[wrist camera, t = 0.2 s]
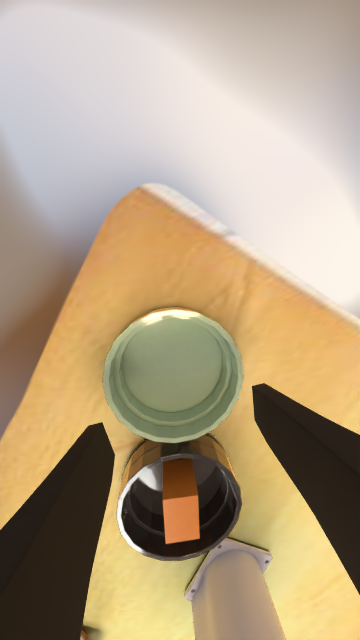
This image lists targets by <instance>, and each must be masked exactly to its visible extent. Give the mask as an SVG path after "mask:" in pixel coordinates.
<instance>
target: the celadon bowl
mask: <svg viewBox="0 0 360 640" xmlns="http://www.w3.org/2000/svg"><path fill="white" fill-rule="evenodd" d="M242 382H243V367H242V358H241V355H240V353H239V351H238V348H237V346H236V344H235V342H234V340H233V338H232V337H231V336H230V335H229V334H228V333H227V332H226V331H225V330H224V328H223V327H222V326H221V325H220V324H219V323H217V322H216V321H214V320H212V319H210V318H208V317H206V316H204V315H202V314H200V313H198V312H196V311H194V310H191V309H185V308H178V307H169V308H163V309H157V310H153V311H151V312H149V313H147V314H145V315H143V316H141V317H139V318H137V319H136V320H135V321H134V322H133V323H131V324H130V325H129V326H128V327H127V328H126V329H125V330H124V331H123V332H122V333H121V334H120V335H119V336H118V337H117V338H116V339H115V341H114V343H113V345H112V347H111V349H110V351H109V353H108V355H107V357H106V359H105V365H104V373H103V386H104V391H105V395H106V400H107V403H108V405H109V406H110V408H111V410H112V411H113V413H114V414H115V416H116V418H117V419H118V420H119V422H121V423H122V424H123V425H124V426H126V427H127V428H128V429H129V430H131V431H132V432H133V433H134V434H136V435H139V436H141V437H144V438H147V439H149V440H152V441H155V442H167V443H178V442H183V441H188V440H193V439H197V438H199V437H200V436H202V435H204V434H206V433H208V432H210V431H212V430H214V429H215V428H216V427H217V426H218V425H219V424H220V423H221V422H222V421H223V420H224V419H225V418H227V417H228V416H229V414H230V413H231V411H232V409H233V407H234V406H235V404H236V402H237V400H238V399H239V396H240V392H241V387H242Z"/></svg>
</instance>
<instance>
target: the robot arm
mask: <svg viewBox="0 0 360 640" xmlns="http://www.w3.org/2000/svg"><path fill="white" fill-rule="evenodd" d="M252 391H253V404H254V417H255V421H256V423H257V425H258V427H259V429H260V431H261V433H262V435H263V436H264V438H265V440H266V442H267V443H268V445H269V447H270V448H271V450H272V451H273V453H274V454H275V456H276V457H277V459H278V460H279V462H280V463H281V465H282V466H283V468H284V469H285V471H286V472H287V474H288V475H289V477H290V478H291V480H292V481H293V483H294V484H295V486H296V487H297V489H298V490H299V492H300V493H301V495H302V496H303V498H304V499H305V501H306V502H307V504H308V505H309V507H310V509H311V510H312V512H313V513H314V515H315V517H316V518H317V520H318V522H319V524H320V525H321V527H322V529H323V531H324V532H325V534H326V536H327V538H328V539H329V541H330V543H331V545H332V546H333V548H334V550H335V551H336V553H337V555H338V557H339V559H340V560H341V562H342V564H343V566H344V568H345V569H346V571H347V573H348V575H349V577H350V578H351V580H352V582H353V584H354V585H355V587H356V589H357V591H358V593H359V594H360V435H359V434H357V433H355V432H352V431H350V430H348V429H346V428H344V427H342V426H340V425H338V424H336V423H334V422H332V421H331V420H329V419H327V418H325V417H323V416H321V415H319V414H317V413H315V412H314V411H312V410H310V409H308V408H306V407H304V406H303V405H301V404H299V403H297V402H296V401H294V400H292V399H290V398H289V397H287V396H285V395H284V394H282V393H280V392H278V391H277V390H275V389H273V388H272V387H270V386H268V385H266V384H265V383H263V384H259V385H255V386H252ZM114 459H115V454H114V451H113V449H112V446H111V444H110V441H109V439H108V436H107V433H106V431H105V428H104V426H103V423H102V422H101V423H97V424H93V425H89V426H88V427H87V428H86V429H85V431H84V432H83V433H82V434H81V435H80V437H79V438H78V439H77V440H76V442H75V443H74V444H73V445H72V447H71V448H70V449H69V450H68V452H67V453H66V454H65V455H64V457H63V458H62V459H61V460H60V462H59V463H58V464H57V465H56V466H55V468H54V469H53V470H52V471H51V473H50V474H49V475H48V476H47V477H46V479H45V480H44V481H43V482H42V483H41V484H40V486H39V487H38V488H37V489H36V490H35V491H34V493H33V494H32V495H31V496H30V497H29V498H28V499H27V501H26V502H25V503H24V504H23V505H22V506H21V508H20V509H19V510H18V511H17V512H16V513H15V514H14V516H13V517H12V518H11V519H10V520H9V521H8V522H7V523H6V524H5V526H4V527H3V528H2V529H1V530H0V640H80V637H81V630H82V624H83V618H84V612H85V606H86V600H87V594H88V588H89V582H90V577H91V572H92V567H93V562H94V557H95V553H96V549H97V544H98V540H99V536H100V531H101V527H102V523H103V518H104V514H105V510H106V505H107V501H108V496H109V492H110V487H111V483H112V475H113V468H114ZM271 560H272V555H271V553H270V552H268V551H265V550H262V549H259V548H256V547H253V546H250V545H247V544H244V543H240V542H237V541H234V540H231V539H228V538H225V539H224V540H223V541H222V542H221V543H220V544H219V545H218V546H217V547H215V548H213V549H212V550H210V552H209V553H208V555H207V557H206V558H205V560H204V562H203V563H202V565H201V567H200V568H199V570H198V572H197V573H196V575H195V576H194V578H193V580H192V581H191V583H190V585H189V586H188V588H187V590H186V591H185V598H186V599H187V600H190V601H192V612H193V623H194V634H195V640H286V638H285V635H284V633H283V630H282V627H281V624H280V621H279V618H278V616H277V613H276V610H275V607H274V604H273V602H272V599H271V596H270V593H269V590H268V587H267V585H266V582H265V579H264V576H263V573H264V571H265V569H266V568H267V566H268V565H269V563H270V562H271Z"/></svg>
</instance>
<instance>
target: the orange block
mask: <svg viewBox="0 0 360 640" xmlns="http://www.w3.org/2000/svg"><path fill="white" fill-rule="evenodd" d="M163 512H164V526H165V541H166V544H168V543H175V542H181V541H188V540H194V539H199V538H200V534H199V507H198V492H197V486H196V480H195V474H194V468H193V463H192V459H182V460H174V461H165V462H163Z"/></svg>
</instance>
